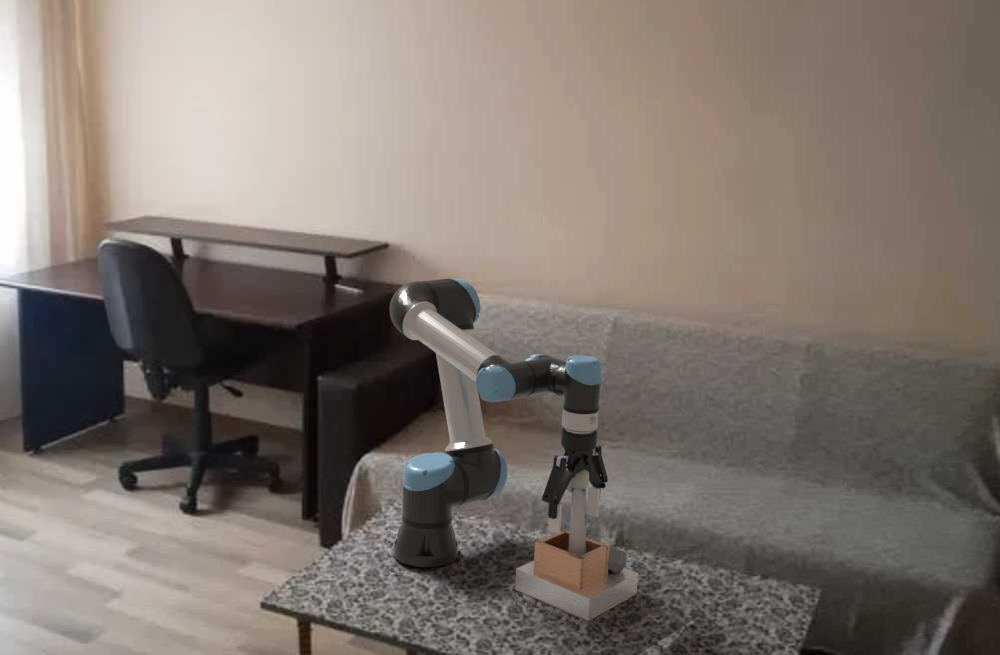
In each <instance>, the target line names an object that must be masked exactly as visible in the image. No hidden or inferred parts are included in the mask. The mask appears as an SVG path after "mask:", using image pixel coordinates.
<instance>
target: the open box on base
mask: <svg viewBox="0 0 1000 655" xmlns="http://www.w3.org/2000/svg"><path fill="white" fill-rule="evenodd" d="M569 531H570V530H567V529H562V530H560V533H559V534H557V533H554V534H550V535H549V536H546V537H544V538H541V539H539V540H537V541H535V542H534V552H533V553H534V556H533V560H531V561H530V562H527V563H525V564H522V565H521V566H519V567H516V570H515V583H514V585H515V586H514V587H515V588H514V590H515V591H518V592H519V593H522V594H524V595H527V596H529V597H531V598H534V599H536V600H538V601H540V602H543V603H545V604H548V605H550V606H552V607H555V608H557V609H559V610H561V611H564V612H566V613H568V614H571V615H573V616H576V617H577V618H580V619H582V620H585V621H587V622H589V621H591V620H593V619H594V618H597V617H598V616H600V615H602V614H603V613H605V612H607V611H609V610H611V609H612V608H613V609H614V608H615V607H616V606H618V605H620V604H622V603H624V602H625V601H627V600H629V599H631V598H632V596H633V597H635V596H636V595H637V592H638V583H639V581H638V580H639V572H637V571H633V570H631V569H628V568H626V563H627V558H628V556H627V553H626V551H624V550H621V549H619V548H615V547H612V546H610V545H608V544H605V543H603V542H600V541H597V540H595V539H591V538H590V537H589V538H588V537H586V554H584V555H582V556H577V555H575V554H572V553H570V552H568V547H569ZM635 594H636V595H635ZM630 597H631V598H630Z"/></svg>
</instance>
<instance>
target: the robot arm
mask: <svg viewBox="0 0 1000 655" xmlns="http://www.w3.org/2000/svg"><path fill="white" fill-rule="evenodd" d="M480 314H481V301H480V297H479V295H478V292H477V291H476V288H475V287H474V286H473V285H471V284H470V283H469V282H468V281H466V280H465V279H461V278H442V279H441V278H440V279H434V280H432V279H431V280H421V281H420V280H418V281H416V280H415V281H410V282H408V283H405V284H403V285H402V286H400V287H399V288H398V289H397V290H396V291H395V292H394V293H393V296H392V297H391V300H390V303H389V315H390V320H391V322H392V323H393V325H394V327H395V328H396V329H397V331H398V332H400V333H401V334H402V335H403V336H405V337H406V338H407V339H410V341H419V342H420V343H422V344H423V345H425V346H426V347H428V348H429V349H430V350H432V351H433V352H434V353H435V355H436V362H437V368H438V374H439V380H440V386H441V392H442V399H443V405H444V411H445V417H446V423H447V424H446V425H447V428H448V437H449V443H448V445H447V446H446V447H445V449H444V451H445V453H444V452H437V451H436V452H433V453H431V452H426V453H421V454H420V453H419V454H418V455H414V456H413V457H412V458H410V459H409V460H407V462H405V465H404V468H403V475H402V482H401V483H402V509H401V511H402V513H401V514H402V515H401V516H402V517H401V525H400V527H399V529H398V533H397V537H396V539H395V540H394V543H393V557H394V558H395V560H397V561H398V562H401V563H402V564H405V565H407V566H411V567H417V568H435V567H443V566H445V565H446V566H447V565H448V564H451V563H453V562H455V561H456V560H457V558H458V557H459V542H458V541H457V538H456V534H455V530H454V527H453V508H457V507H461V506H465V505H468V504H472V503H475V502H480V501H486V500H488V499H491V498H493V497H496V496H498V495H499V494H500V493H501V492H502V491H503V488H504V487H505V486H506V483H507V480H508V464H507V460H506V458H505V456H503V454H502V452H501V451H500V450H498V449H496V448H494V443H493V441H492V440H491V439H490V438H488V437H487V436H486V432H485V426H484V420H483V414H482V407H481V402H480V398H481V399H482V400H483V401H485V402H487V403H495V402H496V403H497V402H498V403H503V402H507V401H510V400H515V399H516V400H517V399H520V398H524V397H526V398H527V397H531V396H535V395H536V396H537V395H542V394H551V395H555V396H558V397H562V398H563V407H562V408H563V409H562V421H561V426H562V427H563V428H562V429H561V440H560V444H561V446H562V447H563V449H564V452H563V455H562V456H559V455H555V456H554V458H553V465H552V467H551V471H550V474H549V478H548V479H547V483H546V486H545V489H544V491H543V494H542V497H541V500H542V501H543V502H545V503H548V510H547V511H548V512H547V516H548V522H547V524H548V526H547V531H548V532H552V533H554V534H555V533H557V534H559V533H560V531H562V530H561V529H562V528H561V527H562V512H563V510H562V509H563V503H561V501H562V498H563V497H564V495H565V493H566V491H567V490H566V489H567V487H568V485H569V483H570V481H571V479H572V478H573V477H575V475H576V473H579V472H580V471H581V470H584V469H585V470H587V471H588V472H589V483H590V485H588V486H587V498H586V515H588V516H591V517H592V518H593V517H594V518H599V514H600V513H599V510H600V500H601V490H602V489H603V490H604V489H605V488H606V486H607V485H606V483H608V481H609V478H608V477H609V476H608V474H607V471H606V467H605V463H604V459H603V455H602V452H603V451H602V446H601V445H599V444H598V431H597V429H598V426H599V425H598V424H599V409H600V398H601V385H602V381H603V380H602V363H601V360H600V359H598V358H597V357H595V356H590V355H584V354H575V355H571V356H568V357H567V358H566V360H562V359H559V358H555V357H553V356H550V355H548V354H540V353H533V354H531V355H530V356H529V357H527V358H526V359H525V360H522V361H517V362H516V361H515V362H509V361H507V359H505V358H503V357H502V356H500V355H499V354H497V353H496V352H494V351H493V350H492V349H490V348H489V347H487V346H486V345H484V344H483V343H481V342H480V341H479V340H477V339H476V338H474V337H473V336H472V334H473V333H474V332H475V326H474V324H475V323H476V322H477V321H478V319H479V317H480ZM566 468H567V469H568V470H569V471H568V470H566Z"/></svg>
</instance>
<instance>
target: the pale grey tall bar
mask: <svg viewBox="0 0 1000 655" xmlns="http://www.w3.org/2000/svg"><path fill="white" fill-rule="evenodd" d="M566 470H568V469H567V468H566ZM568 471H569V470H568ZM589 483H590V481H589V472H588V471H587V470H585V469H584V470H581V471H580V472H579V473H576V475H575V477H573V478H572V479H571V481H570V483H569V485H568V487H567V489H566V491H567V492H568V493H571V500H570V503H571V504H570V518H569V530H568V531H569V547H568V552H570V553H572V554H575V555H577V556H582V555H584V554H586V538H587V489H588V486H589Z"/></svg>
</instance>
